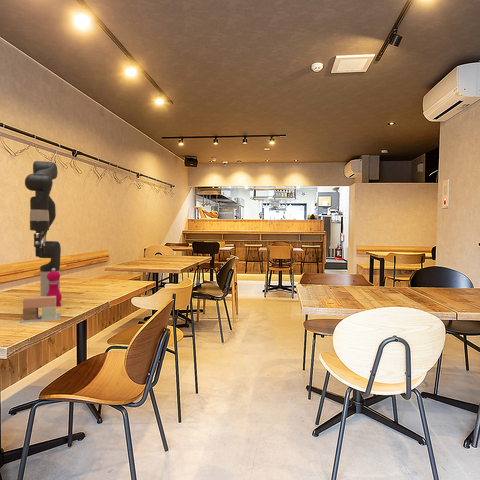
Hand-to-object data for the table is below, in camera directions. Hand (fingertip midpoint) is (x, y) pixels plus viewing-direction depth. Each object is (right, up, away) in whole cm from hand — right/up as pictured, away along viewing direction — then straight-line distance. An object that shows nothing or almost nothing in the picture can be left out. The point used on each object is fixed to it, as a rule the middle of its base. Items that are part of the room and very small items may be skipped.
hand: (40, 255), depth 153 cm
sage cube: (+6, -27, -3) cm, 28 cm away
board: (+3, -28, -4) cm, 29 cm away
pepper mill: (-5, -27, +21) cm, 35 cm away
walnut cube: (-1, -27, -6) cm, 28 cm away
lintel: (+3, -22, -4) cm, 23 cm away
